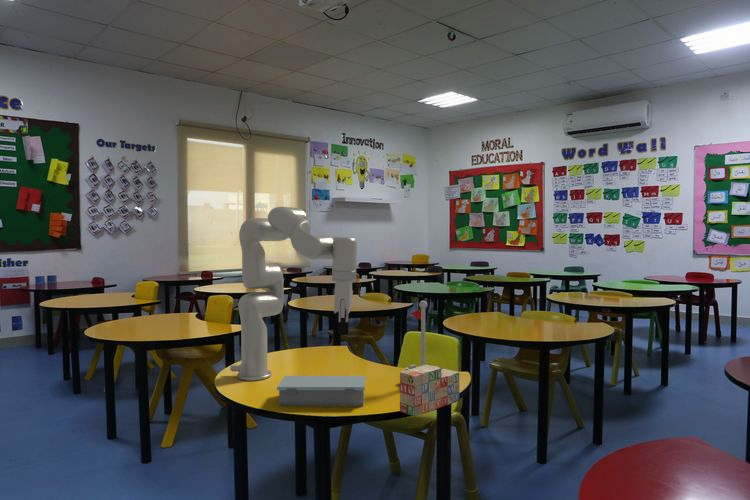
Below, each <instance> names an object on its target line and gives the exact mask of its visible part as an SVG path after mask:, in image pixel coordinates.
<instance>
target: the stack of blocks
mask: <svg viewBox="0 0 750 500" xmlns="http://www.w3.org/2000/svg"><path fill="white" fill-rule="evenodd" d="M434 366H435V365H429V364H426V365H423V366H421V365H420V366H416V368H413V369H409V370H405V369H404V370H402V371H399V412H400V413H403V414H406V415H409V416H411V417H414V418H415V417H419V416H421V415H424V414H425V415H426V414H427V413H430V412H433V411H436V410H437V409H440V408H442V407H445V406H449V405H451V404H454V403H457V402H459V401H460V391H461V389H460V388H461V387H460V372H459V371H456V370H451V369H446V368H441V367H439V366H437V367H434Z"/></svg>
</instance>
